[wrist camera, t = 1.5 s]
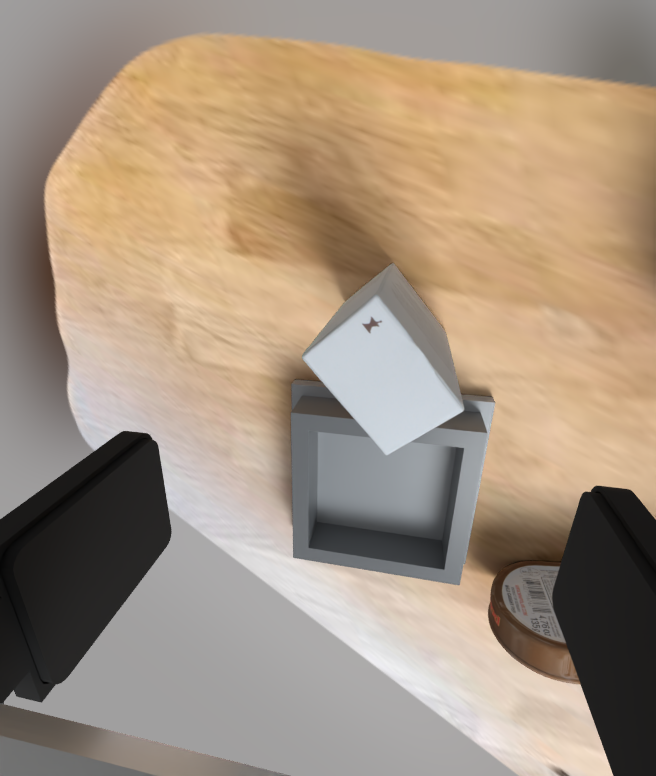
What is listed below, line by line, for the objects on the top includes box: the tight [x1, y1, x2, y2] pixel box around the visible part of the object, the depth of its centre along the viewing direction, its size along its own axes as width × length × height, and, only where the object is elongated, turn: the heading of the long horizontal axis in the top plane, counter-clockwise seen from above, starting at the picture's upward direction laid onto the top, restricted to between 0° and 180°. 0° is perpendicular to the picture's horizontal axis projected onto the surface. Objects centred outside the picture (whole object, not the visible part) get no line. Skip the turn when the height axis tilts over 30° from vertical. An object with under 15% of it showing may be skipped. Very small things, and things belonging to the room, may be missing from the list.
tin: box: [488, 561, 580, 684], centre depth 28 cm, size 15×3×8 cm, turn 95°
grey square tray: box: [291, 379, 495, 585], centre depth 30 cm, size 14×14×4 cm
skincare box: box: [302, 263, 464, 455], centre depth 22 cm, size 6×4×12 cm
